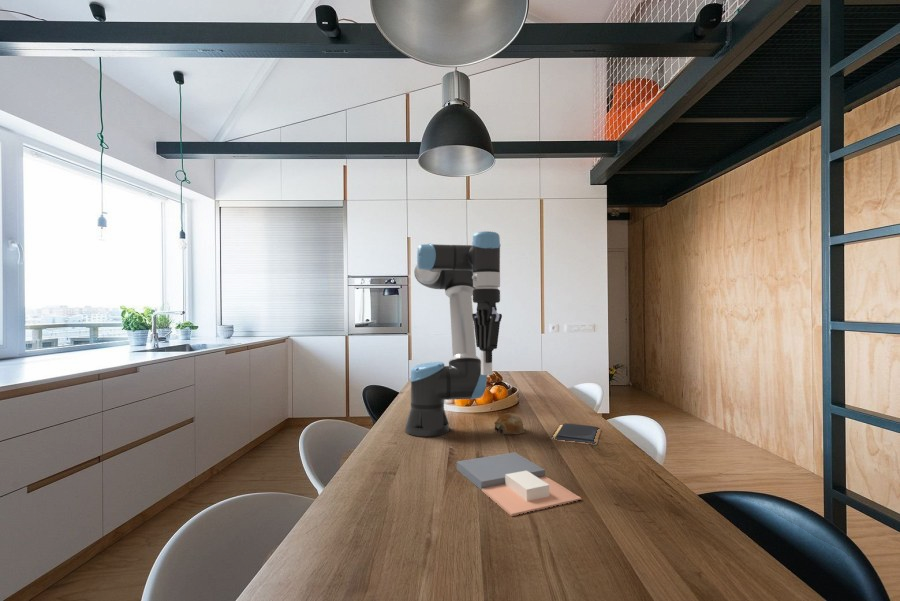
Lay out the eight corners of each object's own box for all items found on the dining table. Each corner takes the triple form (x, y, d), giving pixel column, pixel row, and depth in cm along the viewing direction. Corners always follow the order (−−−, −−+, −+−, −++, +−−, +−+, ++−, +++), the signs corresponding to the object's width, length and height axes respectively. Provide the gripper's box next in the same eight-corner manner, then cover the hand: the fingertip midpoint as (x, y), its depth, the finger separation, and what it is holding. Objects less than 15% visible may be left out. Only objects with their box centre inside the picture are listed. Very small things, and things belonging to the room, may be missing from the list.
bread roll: (521, 446, 138) (531, 424, 138) (493, 433, 138) (503, 411, 138) (516, 437, 148) (525, 417, 148) (490, 425, 148) (500, 404, 148)
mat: (481, 490, 96) (481, 488, 96) (545, 478, 103) (545, 476, 103) (511, 516, 84) (511, 513, 84) (581, 500, 91) (581, 498, 91)
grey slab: (456, 469, 109) (456, 461, 109) (514, 459, 116) (514, 452, 116) (481, 490, 96) (481, 481, 96) (545, 477, 103) (545, 469, 103)
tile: (505, 485, 98) (505, 474, 98) (526, 480, 100) (526, 470, 100) (526, 501, 89) (526, 489, 90) (549, 496, 92) (549, 484, 92)
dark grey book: (596, 441, 127) (547, 435, 134) (596, 448, 127) (547, 441, 134) (603, 425, 145) (559, 420, 152) (603, 431, 145) (560, 425, 152)
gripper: (463, 289, 118) (463, 371, 117) (485, 286, 106) (485, 378, 105) (487, 289, 121) (487, 370, 120) (510, 287, 109) (510, 377, 108)
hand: (486, 374), depth 113 cm, fingers closed
